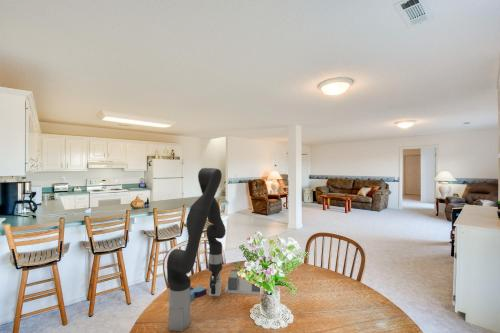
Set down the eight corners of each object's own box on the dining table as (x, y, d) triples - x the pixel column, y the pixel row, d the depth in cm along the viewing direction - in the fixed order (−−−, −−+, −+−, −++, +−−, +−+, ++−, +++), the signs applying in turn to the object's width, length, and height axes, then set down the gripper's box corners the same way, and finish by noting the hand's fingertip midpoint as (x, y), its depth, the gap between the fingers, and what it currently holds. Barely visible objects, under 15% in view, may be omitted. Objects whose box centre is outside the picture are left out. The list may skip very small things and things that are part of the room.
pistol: (208, 293, 138) (187, 305, 126) (190, 285, 147) (168, 295, 135) (208, 286, 138) (187, 297, 126) (190, 278, 147) (168, 287, 135)
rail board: (263, 295, 137) (264, 281, 137) (224, 292, 138) (224, 278, 138) (264, 282, 151) (264, 270, 150) (228, 280, 152) (228, 268, 152)
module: (219, 296, 135) (219, 281, 135) (208, 295, 135) (208, 280, 135) (221, 292, 139) (221, 277, 139) (210, 291, 139) (210, 277, 139)
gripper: (219, 266, 129) (219, 297, 130) (224, 256, 143) (224, 284, 144) (205, 265, 130) (205, 296, 130) (211, 255, 144) (211, 283, 144)
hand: (215, 289), depth 137 cm, fingers open, 8 cm apart
